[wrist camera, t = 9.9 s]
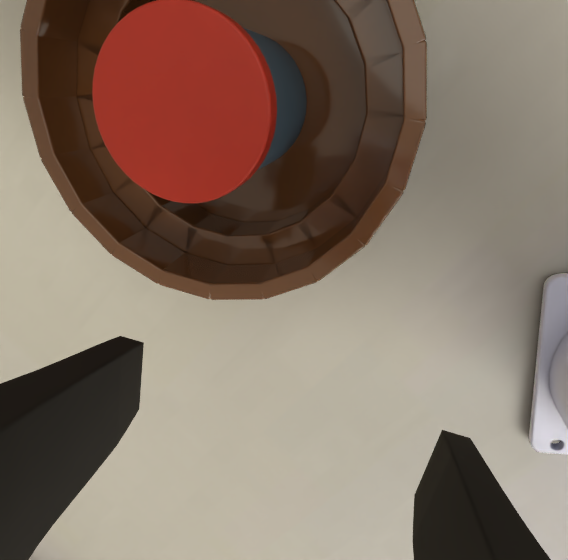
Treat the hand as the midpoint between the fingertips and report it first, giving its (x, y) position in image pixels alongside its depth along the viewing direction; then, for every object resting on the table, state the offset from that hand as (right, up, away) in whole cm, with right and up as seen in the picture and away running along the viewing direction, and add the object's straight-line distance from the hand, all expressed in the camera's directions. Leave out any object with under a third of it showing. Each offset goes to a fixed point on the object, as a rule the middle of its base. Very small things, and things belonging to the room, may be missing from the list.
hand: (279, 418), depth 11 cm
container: (-1, +10, +6) cm, 12 cm away
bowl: (-1, +10, +7) cm, 12 cm away
